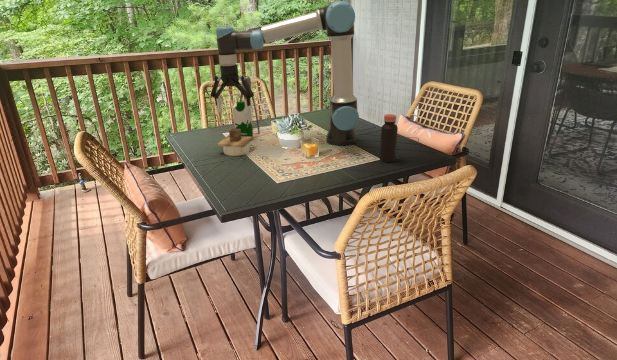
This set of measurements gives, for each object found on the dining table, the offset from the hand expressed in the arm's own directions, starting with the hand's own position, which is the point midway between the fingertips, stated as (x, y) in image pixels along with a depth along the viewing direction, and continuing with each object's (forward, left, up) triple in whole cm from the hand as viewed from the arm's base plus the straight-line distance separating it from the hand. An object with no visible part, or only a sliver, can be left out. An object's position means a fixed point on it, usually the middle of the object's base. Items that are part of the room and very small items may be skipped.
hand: (233, 112), depth 189 cm
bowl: (0, 0, -19) cm, 19 cm away
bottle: (-70, -4, -19) cm, 72 cm away
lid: (0, 0, -14) cm, 14 cm away
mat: (-15, -4, -19) cm, 24 cm away
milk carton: (+4, -19, -19) cm, 27 cm away
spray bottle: (+7, -34, -19) cm, 40 cm away
